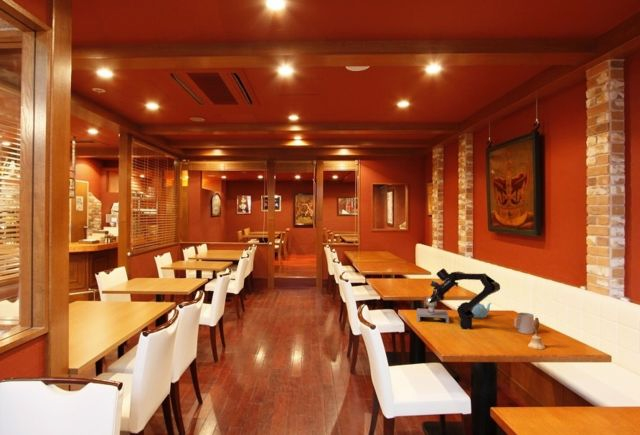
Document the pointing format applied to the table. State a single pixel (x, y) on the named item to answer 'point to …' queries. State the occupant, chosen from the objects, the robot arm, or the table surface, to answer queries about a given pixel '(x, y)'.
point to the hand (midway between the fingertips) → (429, 301)
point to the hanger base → (432, 314)
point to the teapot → (480, 310)
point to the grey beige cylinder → (430, 304)
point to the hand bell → (536, 337)
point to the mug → (525, 323)
